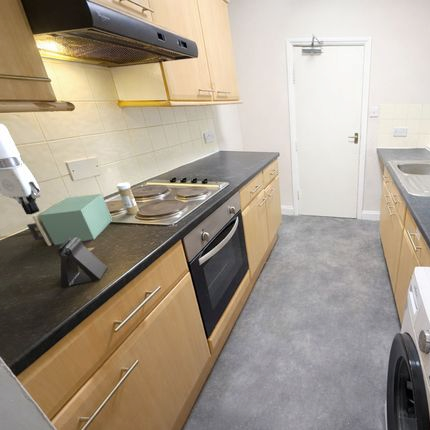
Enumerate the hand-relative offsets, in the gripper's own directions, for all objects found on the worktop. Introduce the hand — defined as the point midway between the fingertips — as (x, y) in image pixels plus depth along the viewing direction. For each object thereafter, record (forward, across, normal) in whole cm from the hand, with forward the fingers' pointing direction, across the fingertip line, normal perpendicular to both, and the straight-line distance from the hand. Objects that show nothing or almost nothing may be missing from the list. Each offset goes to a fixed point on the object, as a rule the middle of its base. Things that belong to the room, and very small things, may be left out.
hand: (33, 212), depth 95 cm
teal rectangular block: (+10, +13, +4) cm, 16 cm away
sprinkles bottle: (+10, +19, +21) cm, 30 cm away
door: (+10, +4, +1) cm, 11 cm away
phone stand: (+10, +38, -23) cm, 45 cm away
